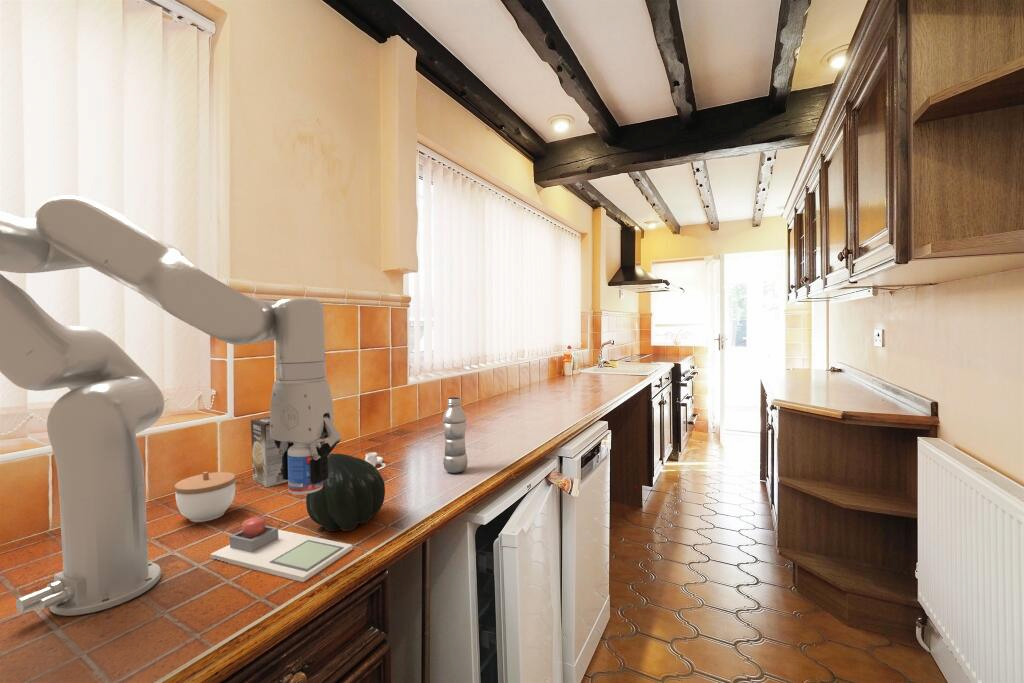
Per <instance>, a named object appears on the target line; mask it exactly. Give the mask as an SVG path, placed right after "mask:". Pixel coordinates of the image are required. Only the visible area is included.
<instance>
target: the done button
mask: <svg viewBox="0 0 1024 683" xmlns="http://www.w3.org/2000/svg"><path fill="white" fill-rule="evenodd" d="M241 526H242V529H241V531H242V530H243V536H245V537H252V536H257V535H260V534H262V533H264V532H265V530H266V526H267V525H266V517H263V516H254V517H251V518H248V519H246V520H244V521H243V522H242V525H241Z"/></svg>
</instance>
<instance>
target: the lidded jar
mask: <svg viewBox="0 0 1024 683" xmlns="http://www.w3.org/2000/svg"><path fill="white" fill-rule="evenodd" d="M236 480H237V477H236V474H235V473H233V472H229V471H228V472H227V471H216V472H214V471H213V472H209V471H204V472H202V473H201V474H197V475H194V476H190V477H186V478H184V479H181V480H179V481H177V482H176V483H175V484H174V486H173V487H174V488H173V489H174V492H175V494H174V495H175V501H176V506H177V509H178V511H179V512H180V513H181V515H182V516H184V517H185V518H187V519H189V521H190V522H192V523H204V522H209V521H213V520H216V519H218V518H220V517H223V516H224V514H225V512H226V511H227V510H228V509H229V507H231V505H232V503H233V501H234V498H235V494H236Z"/></svg>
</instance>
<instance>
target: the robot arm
mask: <svg viewBox="0 0 1024 683" xmlns="http://www.w3.org/2000/svg"><path fill="white" fill-rule="evenodd" d="M80 268H81V269H82V268H92V269H93V270H96V271H97V272H100V273H101V274H103V275H105V276H107V277H109V278H110V279H112V280H114V281H116V282H118V283H120V284H121V285H124V286H125V287H127V288H130V289H131V290H133V291H134V292H136V293H138V294H139V295H142V297H144V298H145V299H146V300H148V301H149V302H151V303H153V304H155V305H156V306H157V307H159V308H160V309H162V310H164V311H165V312H166V313H168V314H170V315H171V316H173V317H175V318H176V319H178V320H180V321H182V322H184V323H186V324H188V325H189V326H191V327H193V328H195V329H196V330H199V331H201V332H202V333H205V334H207V335H208V336H210V337H212V338H214V339H217V340H218V341H221V342H223V343H226V344H229V345H234V346H235V345H236V346H240V345H241V346H243V345H253V344H260V343H264V342H265V343H266V342H270V341H272V342H273V341H275V362H276V363H275V366H276V367H275V372H276V380H275V381H274V382H273V385H272V390H271V395H270V405H269V406H270V407H269V409H270V410H269V417H270V430H269V436H270V437H271V438H272V439H273V441H275V445H276V446H277V447H278V449H279V455H280V456H283V457H282V471H283V479H284V480H288V449H289V448H290V447H291V446H293V445H294V443H304V444H309V445H310V449H311V452H312V456H313V458H314V459H312V460H310V473H311V483H312V484H316V483H319V482H321V481H323V480H326V479H327V478H328V459H327V457H328V456H329V455H330V454H331V453H332V451H333V450H334V449H335V447H336V446H337V445H338V444H339V443H340V442H341V440H342V435H341V434H340V432H339V431H338V429H337V428H336V426H335V413H334V404H333V397H332V391H331V386H330V382H329V379H327V365H326V364H327V362H326V338H325V337H326V334H325V332H326V331H325V310H324V305H323V303H322V302H321V301H320V300H318V299H315V298H306V297H305V298H303V297H302V298H301V297H300V298H299V297H297V298H296V297H295V298H282V299H279V300H277V301H276V300H268V299H267V300H266V299H259V298H256V297H252V296H248V295H245V294H244V293H242V292H240V291H238V290H236V289H234V288H232V287H231V286H229V285H227V284H225V283H224V282H221V281H220V280H218V279H217V278H215V277H213V276H212V275H210V274H208V273H206V272H205V271H204V270H201V269H200V268H198V267H197V266H195V265H194V264H192V263H191V262H190V261H189V260H188V259H187V257H186V256H185V255H184V253H183V252H182V251H180V250H179V249H178V248H176V247H175V246H173V245H171V244H170V243H168V242H165V241H163V240H162V239H161V238H158V236H155V235H153V234H151V233H149V232H147V231H146V230H144V229H143V228H140V227H139V226H137V225H136V224H134V223H132V222H131V221H130V220H129V219H128V218H127V217H125V216H124V215H123V214H121V213H119V212H117V211H115V210H113V209H111V208H108V207H106V206H104V205H102V204H100V203H98V202H96V201H93V200H90V199H87V198H85V197H81V196H75V195H60V196H54V197H52V198H50V199H47V200H46V201H44V202H42V203H41V205H40V206H38V208H37V210H36V212H35V214H34V218H22V217H18V216H15V215H12V214H10V213H6V212H3V211H0V272H6V273H15V274H35V273H36V274H38V273H39V274H40V273H47V272H57V271H63V270H65V271H66V270H73V269H80ZM0 373H1V374H2V375H3V376H4V378H7V380H9V381H10V382H11V383H12V384H13V385H15V386H17V387H19V388H22V389H24V390H27V391H34V392H37V391H38V392H39V391H42V392H43V391H51V390H59V389H63V388H68V389H69V390H70V391H68V392H66V393H64V394H63V395H62V396H61V397H60V398H58V399H57V400H56V401H55V403H54V404H53V405H52V407H51V408H50V410H49V413H48V416H47V421H46V430H47V436H48V439H49V443H50V445H51V449H52V452H53V457H54V461H55V467H56V473H57V486H58V498H59V510H60V511H59V513H60V514H59V516H60V534H61V536H60V537H61V552H62V554H61V555H62V570H63V571H59V572H57V573H55V574H54V576H53V580H54V581H53V582H49V583H47V585H46V586H45V587H44V588H42V589H39V590H37V591H32V592H30V593H28V594H25V595H24V596H21V597H18V598H17V599H16V601H15V606H16V610H17V612H18V613H21V614H22V613H23V612H26V611H28V610H31V609H34V608H36V607H38V606H39V608H40V609H41V610H45V609H48V608H49V610H50V612H51V613H52V614H54V615H55V614H56V615H57V616H65V617H66V616H67V617H68V616H70V617H71V616H81V615H87V614H92V613H96V612H99V611H103V610H107V609H110V608H113V607H116V606H119V605H121V604H124V603H126V602H129V601H131V600H133V599H135V598H137V597H139V596H141V595H142V594H145V593H146V592H147V591H148V590H150V589H151V588H153V587H154V586H156V584H157V583H158V582H159V581H160V579H161V576H162V568H161V566H160V564H157V563H155V562H151V561H149V554H148V553H149V552H148V550H149V549H148V530H147V505H146V486H145V469H144V461H143V456H142V453H141V450H140V447H139V444H138V439H137V436H136V434H138V433H141V432H143V431H145V430H146V429H149V428H151V426H153V425H154V424H155V423H157V422H158V421H159V419H160V417H161V416H162V415H163V412H164V410H165V398H164V395H163V392H162V390H161V389H160V387H159V386H158V385H157V383H155V381H154V380H153V379H152V378H151V377H150V376H149V375H148V374H147V373H146V372H145V371H144V370H143V369H142V367H140V366H139V365H138V364H137V363H136V362H135V361H134V360H133V359H132V358H131V357H130V356H129V355H128V354H127V353H126V352H125V350H124V349H122V348H121V347H120V346H119V344H118V343H116V342H115V341H114V339H112V338H110V337H109V336H108V335H106V334H104V333H103V332H101V331H99V330H97V329H94V328H91V327H87V326H80V325H65V324H61V323H60V322H59V321H57V320H56V319H54V318H53V317H52V316H51V315H50V314H48V313H47V312H46V311H45V310H44V309H43V308H42V307H41V306H40V305H39V304H38V303H37V302H36V301H35V300H34V298H32V296H31V295H29V294H28V293H27V292H26V291H25V290H24V289H22V288H21V287H19V286H18V285H17V284H16V283H14V282H12V281H11V280H9V279H8V278H7V277H5V276H4V275H3V274H1V273H0ZM293 442H294V443H293ZM317 443H319V444H320V445H321V448H320V449H319V447H318V444H317Z"/></svg>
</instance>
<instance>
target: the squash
mask: <svg viewBox="0 0 1024 683" xmlns="http://www.w3.org/2000/svg"><path fill="white" fill-rule="evenodd" d="M327 459H328V478H327V479H326V480H323V487H322V488H321V489H320V490H318V491H316V492H313V493H309V494H306V498H305V504H306V505H305V506H306V507H305V508H306V512H307V513H308V517H309V518H310V519H311V520H312V521H313V522H314V523H316V524H317V525H319V526H321V527H323V528H324V529H325V530H327V531H329V532H337V531H340V530H343V531H344V532H347V531H348V532H349V531H352V530H353V529H355V528H356V526H358V524H365V523H367V522H369V520H370V519H371V517H374V516H375V515H376V514H377V513H379V511H380V510H381V508H382V507H383V505H384V501H385V496H386V495H385V494H386V487H385V480H384V479H383V477H382V475H381V472H380V471H379V470H377V469H378V468H376V467H374V466H373V465H372V464H370V463H369V462H367V461H365V459H362V458H360V457H355V456H352V455H348V454H343V453H333V452H331V454H330V455H329V456H327ZM323 528H322V529H323Z"/></svg>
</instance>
